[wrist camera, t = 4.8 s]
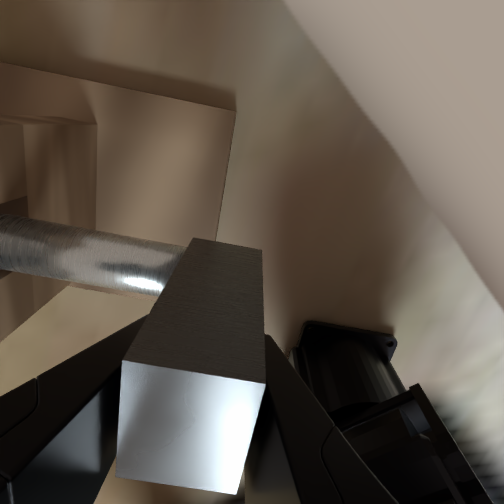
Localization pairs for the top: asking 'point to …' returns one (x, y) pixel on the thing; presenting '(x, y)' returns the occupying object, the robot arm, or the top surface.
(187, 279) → the shaft
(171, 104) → the bearing stand
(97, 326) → the top surface
